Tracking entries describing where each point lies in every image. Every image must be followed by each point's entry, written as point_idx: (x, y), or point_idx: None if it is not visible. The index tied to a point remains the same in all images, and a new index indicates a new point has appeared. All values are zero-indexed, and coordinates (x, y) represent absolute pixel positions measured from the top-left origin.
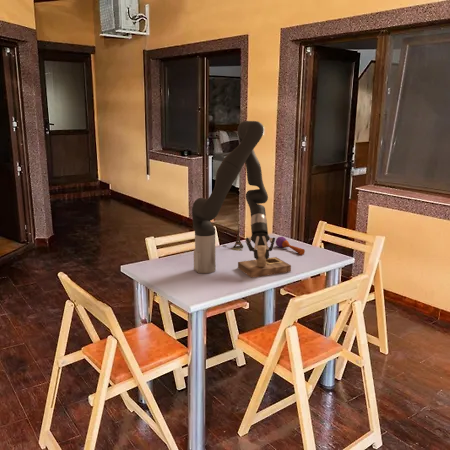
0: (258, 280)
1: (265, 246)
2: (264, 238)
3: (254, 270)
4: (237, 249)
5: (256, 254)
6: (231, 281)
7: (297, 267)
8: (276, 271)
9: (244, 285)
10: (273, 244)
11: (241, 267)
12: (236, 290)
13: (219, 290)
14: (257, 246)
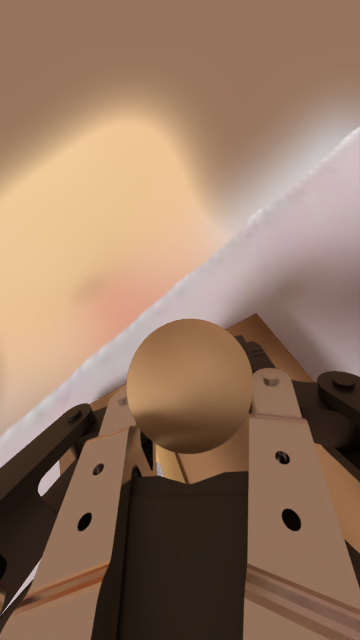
0: (218, 301)
1: (135, 363)
2: (33, 628)
3: (241, 322)
4: None
5: (242, 343)
6: (328, 273)
7: None
8: None
9: (262, 251)
10: (13, 458)
11: None
12: (279, 214)
13: (338, 200)
14: (242, 352)
